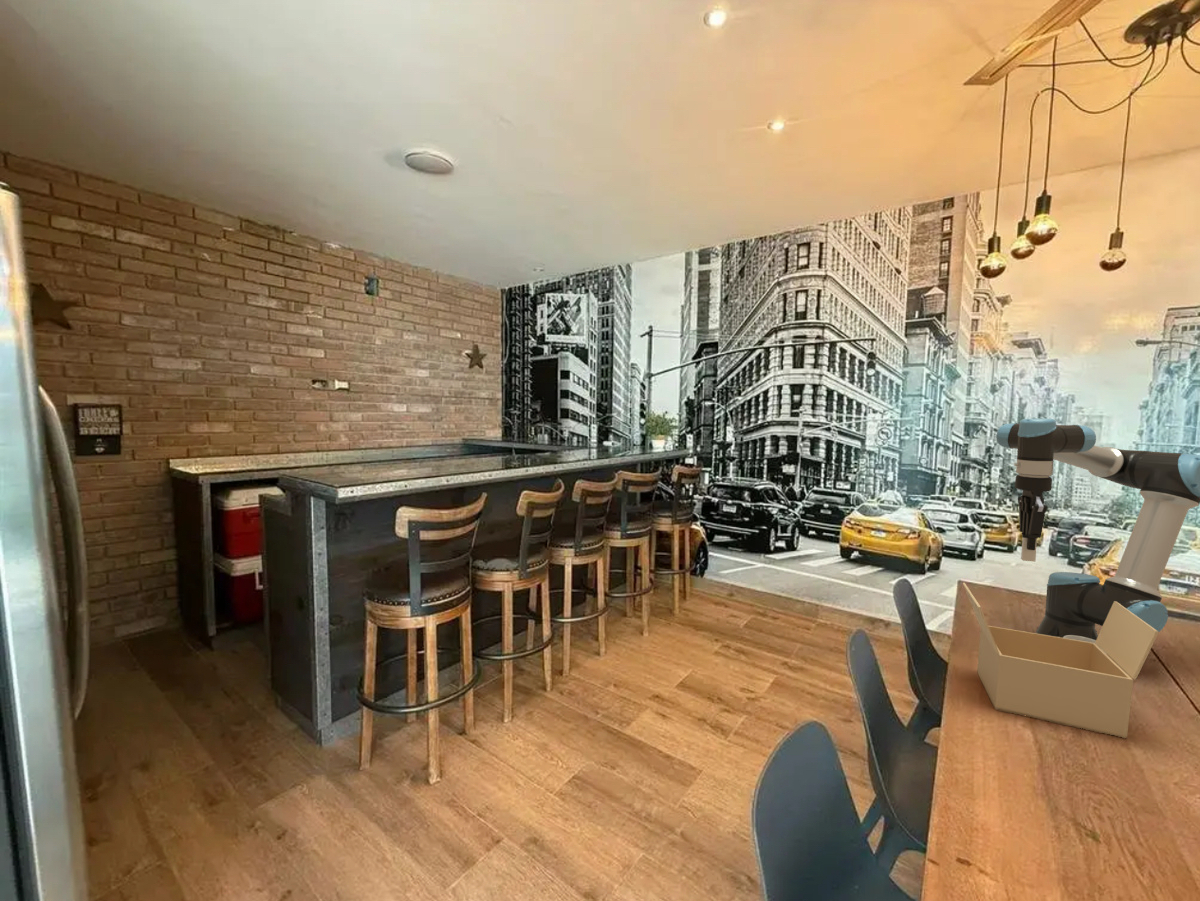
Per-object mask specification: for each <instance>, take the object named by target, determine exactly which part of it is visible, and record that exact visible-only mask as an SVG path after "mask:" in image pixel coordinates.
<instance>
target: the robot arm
mask: <svg viewBox="0 0 1200 901" xmlns="http://www.w3.org/2000/svg"><path fill="white" fill-rule="evenodd" d="M995 437H996V441H997V444H998V445H999V446H1001V447H1002V448H1007V449H1010V450H1013V449H1016V450H1017V453H1016V454H1017V455H1016V462H1014V467H1016V468H1015V471H1016V472H1015V473H1016V474H1017V475H1015V482H1014V488H1015V489H1016V490H1021V491H1022V493H1021V494H1022V495H1020V496H1018V497H1017V502H1018V515H1019V516H1018V517H1019V518H1018V519H1019V520H1018V521H1019V522H1018V523H1019V532H1020V533H1021V537H1022V540H1021V556H1020V559H1021V560H1022V561H1024V562H1036V558H1037V557H1036V556H1037V544H1038V539H1041V538H1042V532H1043V528H1044V522H1045V517H1046V512H1047V510H1048V505H1047V504H1044V503H1045V498H1044V497H1043V496H1044V494H1043V493H1044V492H1050V491H1052V483H1053V478H1052V477H1051V476H1052V475H1053V474H1054V463H1055V462H1054V461H1057V462H1060V463H1063V464H1067V465H1070V466H1074V467H1076V468H1080V469H1083V470H1087V471H1088V472H1089V474H1091V475H1092V476H1095V477H1099V478H1100V479H1103V480H1107V481H1110V482H1113V483H1116V484H1118V485H1122V486H1125V487H1129V488H1133V489H1136V490H1137V489H1138V490H1139V494H1140V495H1141V496H1142V498H1143V502H1142V505H1141V507H1140V511H1139V513H1138V516H1137V518H1136V521H1135V523H1134V525H1133V528H1132V531H1131V534H1130V536H1129V538H1128V540H1127V544H1126V547H1125V548H1124V552H1123V554H1122V557H1121V559H1120V562H1119V564H1118V567H1117V569H1116V572H1115V575H1113V576H1110V577H1107V578H1105V580H1104V582H1103V584H1101V579H1100V577H1098V576H1095V575H1093V574H1087V573H1082V572H1081V573H1079V572H1072V571H1071V572H1070V571H1069V572H1068V571H1057V572H1053V573H1050V574H1049V576H1048V579H1047V584H1046V599H1045V610H1044V611H1045V612H1044V617H1043V618H1042V620H1041V622H1040V624H1039V625H1038V627H1037V629H1036V632H1035V633H1037V634H1043V635H1049V636H1055V637H1061V638H1063V637H1064V636H1066V635H1075V636H1081V637H1086V638H1090V639H1093V640H1096V639H1097V637H1098V635H1099V634H1098V632H1097V629H1096V625H1098V626H1101V627H1102V626H1103V624H1104V622H1105V620H1106V618H1107V616H1108V613H1109V611H1110V609H1111V607H1112V605H1113V603H1114V601H1116V602H1118V603H1119V604H1121V605H1122V606H1123V607H1125V608H1126V609H1128V610H1129V611H1130V612H1132V613H1133V614H1135V615H1136V616H1137V617H1139V618H1140V619H1142V620H1143V621H1144V622H1146V623H1147V624H1149V625H1150V626H1151V627H1153V628H1154V629H1155V630H1157V631H1158V632H1159V633H1160V632H1161V631H1163V629H1164V627H1165V626H1166V624H1167V622H1168V618H1169V614H1168V608H1167V606H1165V605H1164V604H1163V603H1162V598H1163V596H1162V594H1161V593H1160V592H1159V590H1158V586H1159V584H1160V582H1161V579H1162V577H1163V575H1164V572H1165V570H1166V566H1168V561H1169V559H1170V556H1171V554H1172V552H1173V549H1174V547H1175V545H1176V541H1177V539H1178V537H1179V534H1180V532H1181V529H1182V526H1183V523H1184V521H1185V519H1186V517H1187V514H1188V511H1189V510H1191V509H1193V508H1197V507H1198V506H1200V454H1190V453H1189V452H1187V453H1185V452H1184V453H1182V452H1180V453H1179V452H1178V453H1177V452H1163V451H1150V450H1133V449H1132V450H1131V449H1120V448H1115V447H1111V446H1103V447H1100V446H1098V445H1096V441H1097V435H1096V432H1095V431H1094V430H1093V429H1092V428H1091V427H1089V426H1087V425H1083V424H1067V425H1066V424H1056V420H1055V419H1054V418H1023V419H1021V420H1020V421H1019V423H1018V422H1014V423H1005V424H1003V425H1001V426H1000V427H999V428H998V429H997V432H996V436H995Z"/></svg>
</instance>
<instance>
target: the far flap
mask: <svg viewBox="0 0 1200 901" xmlns="http://www.w3.org/2000/svg"><path fill="white" fill-rule="evenodd" d="M962 585H963V588H964V590H965V593H966V595H967V598H968V600H969V602H970V604H971V607H972V609H973V612H974V615H975V617H976V620H977V622H978V625H979V627H980V629H981V628H982V630H983V632H984V633H985V635H986V637H987V638H988V640H989V642H990V643H991V645H992V647H993V648H994V650H995V652H996V653H997V654H999V651H998V649H997V646H996V644H995V641H994V639H993V636H992V634H991V631H990V629H989V626H990V625H989V624H988V621H987V619H986V617H985V614H984V611H983V609H982V607H981V605H980V603H979V602H978V600H977V599H976V598H975V596H974V595H973V593H972V592H971V590H970V588H969V586H967V584H966V582H962Z"/></svg>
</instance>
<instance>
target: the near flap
mask: <svg viewBox="0 0 1200 901" xmlns="http://www.w3.org/2000/svg"><path fill="white" fill-rule="evenodd" d="M1159 633H1160V632H1158V631H1157V630H1155V629H1154V628H1153V627H1151V626H1150V625H1149V624H1147V623H1146V622H1144V621H1143V620H1142V619H1140V618H1139V617H1137V616H1136V615H1135V614H1133V613H1132V612H1130V611H1129V610H1128V609H1126V608H1125V607H1123V606H1122V605H1121V604H1119V603H1118V602H1116V601H1114V603H1113V605H1112V607H1111V609H1110V611H1109V613H1108V616H1107V618H1106V620H1105V622H1104V624H1103V626H1101V629H1100V631H1099V633H1098V634H1097V635H1098V637H1097V639H1096V642H1095V643H1096V644H1097V645H1098V646H1099V647H1100V648H1101V649H1102V650H1103V651H1104V652H1105V653H1107V654H1108V656H1109V657H1110V658H1111V659H1112V660H1113V661H1114V662H1115V663H1116V664H1117V665H1118V666H1119V667H1120V668H1121V669H1122V670H1123V671H1125V672H1126V673H1127V674H1128V675H1129V676H1130V677H1131V678H1132V679H1133V680H1137V679H1138V676H1139V675H1140V672H1141V670H1142V668H1143V666H1144V664H1145V661H1146V659H1147V657H1148V655H1149V654H1150V651H1151V649H1152V647H1153V645H1154V643H1155V641H1156V639H1157V637H1158V635H1159Z"/></svg>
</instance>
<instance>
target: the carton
mask: <svg viewBox="0 0 1200 901" xmlns="http://www.w3.org/2000/svg"><path fill="white" fill-rule="evenodd" d="M988 626H989V629H990V631H991V634H992V636H993V639H994V641H995V644H996V646H997V649H998V651H999V654H997V653H996V652H995V650H994V648H993V647H992V645H991V643H990V642H989V640H988V638H987V637H986V635H985V633H984V632H983V630H982V628H981V627H980V630H979V631H980V632H979V645H978V646H979V647H978V655H977V656H978V657H977V658H978V659H977V668H976V669H977V670H976V673H977V675H978V676H979V679H980V681H981V684H982V685H983V687H984V689H985V691H986V694H987V696H988V697H989V700H990V702H991V703H992V706H993V708H994V710H995V711H999V712H1004V713H1009V714H1012V713H1014V714H1013V715H1017V714H1019V715H1018V716H1021V715H1026V716H1030V717H1034V718H1033V719H1035V718H1037V719H1036V720H1039V719H1042V720H1041V721H1044V720H1047V721H1046V722H1048V721H1049V722H1050V723H1052V724H1053V723H1054V724H1058V725H1062V726H1068V727H1071V728H1075V727H1076V729H1080V728H1081V730H1084V729H1086V730H1085V731H1089V730H1090V732H1093V731H1094V733H1098V732H1099V734H1102V733H1105V734H1104V735H1107V734H1110V735H1109V736H1111V735H1115V736H1114V737H1116V736H1118V737H1117V738H1120V737H1122V738H1121V739H1125V738H1126V740H1128V731H1129V723H1130V713H1131V706H1132V704H1131V703H1132V696H1133V687H1134V679H1133V678H1132V677H1131V676H1130V675H1129V674H1128V673H1127V672H1125V671H1124V670H1123V669H1122V668H1121V667H1120V666H1119V665H1118V664H1117V663H1116V662H1115V661H1114V660H1113V659H1112V658H1111V657H1110V656H1109V655H1107V654H1106V653H1105V652H1104V651H1102V650H1101V649H1100V648H1099V647H1098V646H1097V645H1096V644H1095V643H1091V642H1085V641H1079V640H1073V639H1067V638H1061V637H1055V636H1049V635H1043V634H1037V633H1036V632H1029V631H1024V630H1018V629H1017V630H1016V629H1011V628H1005V627H999V626H994V625H988ZM1026 716H1025V717H1026ZM1030 717H1029V718H1030ZM1082 728H1083V729H1082Z"/></svg>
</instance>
